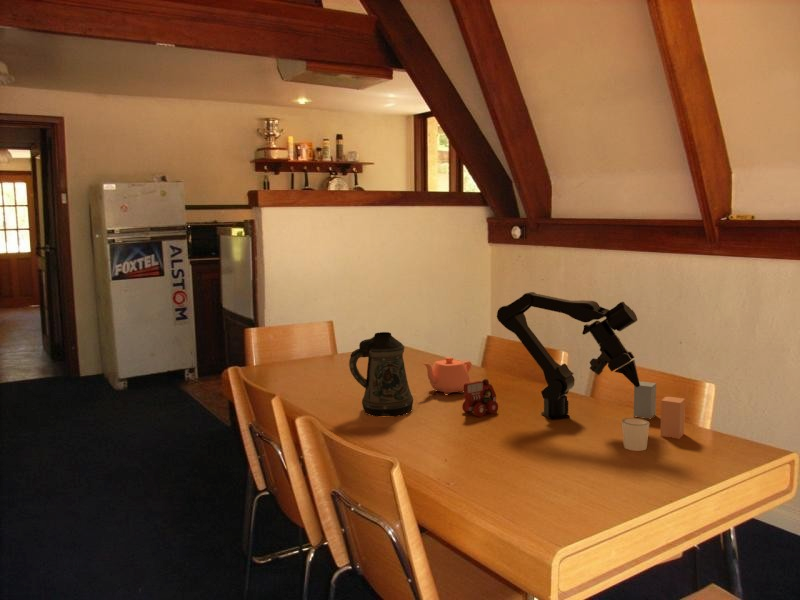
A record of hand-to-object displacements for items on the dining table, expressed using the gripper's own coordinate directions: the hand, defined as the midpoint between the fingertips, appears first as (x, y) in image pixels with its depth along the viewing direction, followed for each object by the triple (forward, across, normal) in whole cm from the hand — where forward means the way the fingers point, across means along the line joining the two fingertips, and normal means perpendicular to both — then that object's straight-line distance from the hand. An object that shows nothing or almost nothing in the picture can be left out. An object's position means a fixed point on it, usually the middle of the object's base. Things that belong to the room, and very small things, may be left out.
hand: (638, 386), depth 192 cm
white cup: (+12, +14, -8) cm, 21 cm away
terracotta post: (+16, +1, 0) cm, 16 cm away
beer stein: (-32, +4, -70) cm, 77 cm away
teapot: (-29, -25, -58) cm, 70 cm away
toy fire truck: (-16, -4, -45) cm, 48 cm away
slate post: (+9, -15, -5) cm, 18 cm away
